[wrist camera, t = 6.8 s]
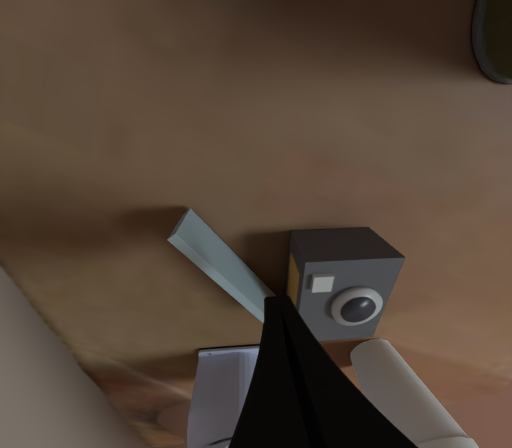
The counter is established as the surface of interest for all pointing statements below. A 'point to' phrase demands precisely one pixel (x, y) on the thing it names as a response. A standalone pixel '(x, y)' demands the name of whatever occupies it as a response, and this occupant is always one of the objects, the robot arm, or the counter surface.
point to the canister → (493, 38)
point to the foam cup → (404, 397)
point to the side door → (219, 263)
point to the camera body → (341, 280)
